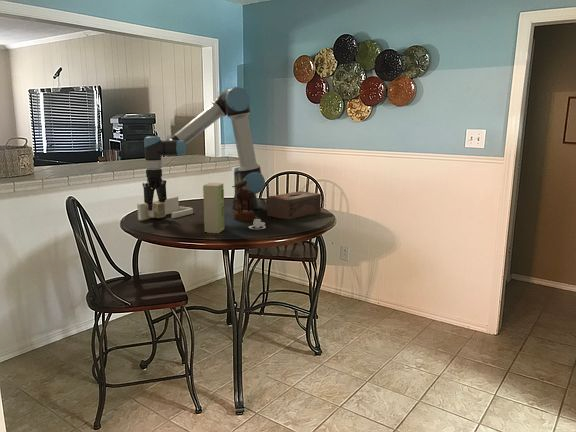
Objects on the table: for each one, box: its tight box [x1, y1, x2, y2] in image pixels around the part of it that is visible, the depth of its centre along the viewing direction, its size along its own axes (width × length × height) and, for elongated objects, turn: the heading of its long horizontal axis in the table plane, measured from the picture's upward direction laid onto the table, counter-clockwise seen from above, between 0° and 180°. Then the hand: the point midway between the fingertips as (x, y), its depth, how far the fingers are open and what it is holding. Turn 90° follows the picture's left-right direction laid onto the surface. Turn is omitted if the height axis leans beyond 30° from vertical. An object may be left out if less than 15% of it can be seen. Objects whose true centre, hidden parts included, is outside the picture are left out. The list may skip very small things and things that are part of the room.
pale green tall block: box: [202, 182, 225, 234], centre depth 207 cm, size 8×7×21 cm
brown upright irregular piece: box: [231, 180, 256, 222], centre depth 233 cm, size 15×11×20 cm
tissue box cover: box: [266, 190, 322, 220], centre depth 246 cm, size 26×14×10 cm, turn 137°
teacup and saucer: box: [248, 218, 266, 230], centre depth 216 cm, size 9×8×4 cm
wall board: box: [136, 196, 194, 221], centre depth 239 cm, size 12×28×8 cm, turn 149°
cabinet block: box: [147, 200, 166, 219], centre depth 232 cm, size 7×5×7 cm
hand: (156, 215), depth 233 cm, fingers closed on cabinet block, 5 cm apart
